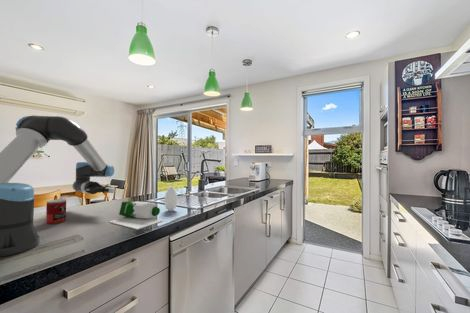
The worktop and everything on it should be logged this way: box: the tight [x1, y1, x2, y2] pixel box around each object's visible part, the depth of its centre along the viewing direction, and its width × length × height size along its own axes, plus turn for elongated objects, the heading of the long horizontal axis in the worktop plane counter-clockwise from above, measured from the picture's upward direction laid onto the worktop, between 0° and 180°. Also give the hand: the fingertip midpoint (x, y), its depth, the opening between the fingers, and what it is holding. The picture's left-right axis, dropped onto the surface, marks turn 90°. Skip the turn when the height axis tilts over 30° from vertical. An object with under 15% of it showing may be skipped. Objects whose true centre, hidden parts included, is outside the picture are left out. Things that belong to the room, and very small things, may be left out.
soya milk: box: [118, 200, 161, 219], centre depth 115 cm, size 9×9×20 cm
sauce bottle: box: [163, 182, 178, 212], centre depth 133 cm, size 8×8×18 cm
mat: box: [108, 216, 164, 231], centre depth 109 cm, size 22×15×1 cm
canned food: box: [45, 198, 67, 225], centre depth 107 cm, size 8×8×11 cm
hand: (113, 190), depth 119 cm, fingers closed
